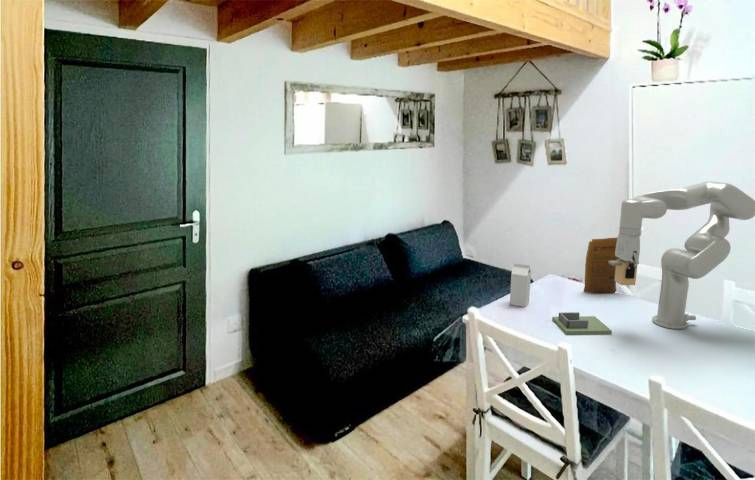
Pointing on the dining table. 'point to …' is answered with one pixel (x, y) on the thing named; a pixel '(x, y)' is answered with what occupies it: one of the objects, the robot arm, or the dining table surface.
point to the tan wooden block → (622, 272)
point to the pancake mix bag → (600, 266)
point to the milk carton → (520, 285)
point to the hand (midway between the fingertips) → (625, 275)
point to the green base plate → (580, 324)
